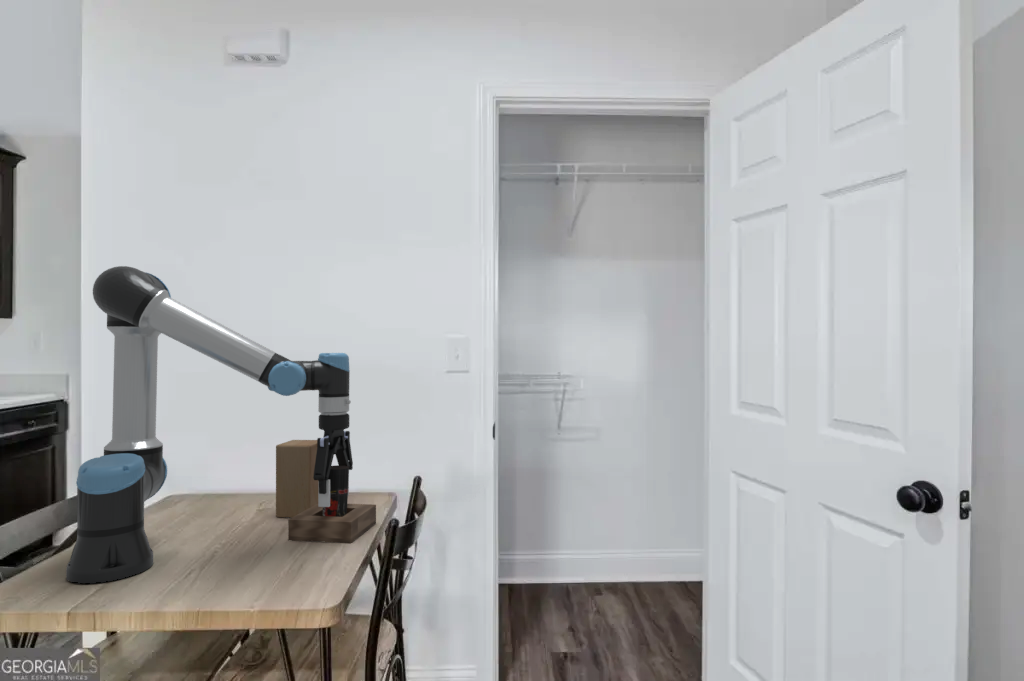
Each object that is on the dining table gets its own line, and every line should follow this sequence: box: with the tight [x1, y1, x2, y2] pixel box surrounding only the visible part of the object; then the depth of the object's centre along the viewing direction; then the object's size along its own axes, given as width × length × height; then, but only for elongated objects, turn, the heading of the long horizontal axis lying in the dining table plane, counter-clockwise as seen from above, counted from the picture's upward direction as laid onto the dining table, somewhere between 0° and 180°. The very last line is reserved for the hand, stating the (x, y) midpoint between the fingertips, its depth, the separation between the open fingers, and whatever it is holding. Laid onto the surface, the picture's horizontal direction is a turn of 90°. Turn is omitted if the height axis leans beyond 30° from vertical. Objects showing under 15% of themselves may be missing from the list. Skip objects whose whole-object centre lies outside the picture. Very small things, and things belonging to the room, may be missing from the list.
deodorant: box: [322, 465, 350, 517], centre depth 150 cm, size 6×6×15 cm
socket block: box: [287, 503, 377, 544], centre depth 149 cm, size 16×16×5 cm
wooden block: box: [275, 439, 318, 519], centre depth 167 cm, size 10×10×20 cm
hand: (334, 500), depth 149 cm, fingers open, 10 cm apart
